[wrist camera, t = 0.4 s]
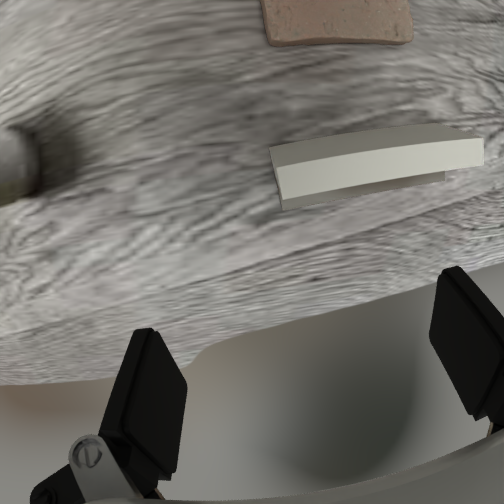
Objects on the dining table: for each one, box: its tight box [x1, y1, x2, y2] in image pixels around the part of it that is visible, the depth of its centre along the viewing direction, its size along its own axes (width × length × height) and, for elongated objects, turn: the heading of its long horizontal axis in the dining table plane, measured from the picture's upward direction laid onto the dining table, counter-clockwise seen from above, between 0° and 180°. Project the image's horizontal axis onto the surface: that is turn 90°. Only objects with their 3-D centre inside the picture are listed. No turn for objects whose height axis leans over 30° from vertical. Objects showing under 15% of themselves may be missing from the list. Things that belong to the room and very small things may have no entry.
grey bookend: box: [269, 123, 484, 211], centre depth 32 cm, size 8×22×10 cm, turn 103°
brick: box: [260, 0, 414, 47], centre depth 26 cm, size 17×8×5 cm, turn 98°
